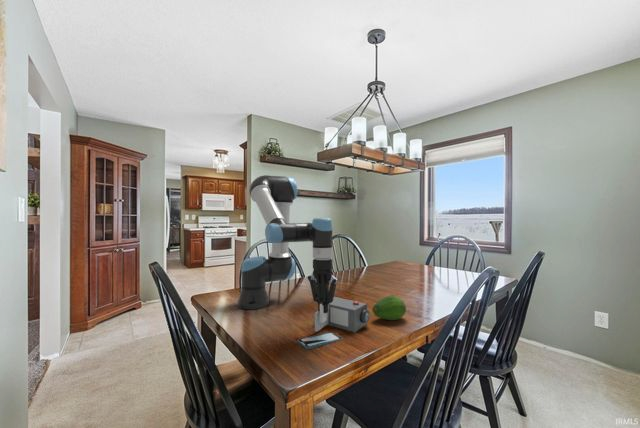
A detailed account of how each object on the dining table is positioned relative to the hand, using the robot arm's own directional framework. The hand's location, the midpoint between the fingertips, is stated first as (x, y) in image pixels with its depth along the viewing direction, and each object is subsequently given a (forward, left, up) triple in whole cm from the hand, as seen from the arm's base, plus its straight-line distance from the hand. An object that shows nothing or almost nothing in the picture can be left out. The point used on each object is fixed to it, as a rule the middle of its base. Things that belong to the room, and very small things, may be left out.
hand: (323, 321), depth 106 cm
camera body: (+1, +13, -5) cm, 14 cm away
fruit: (+14, +28, -5) cm, 32 cm away
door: (-3, +3, -4) cm, 5 cm away
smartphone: (+3, -5, -5) cm, 8 cm away
